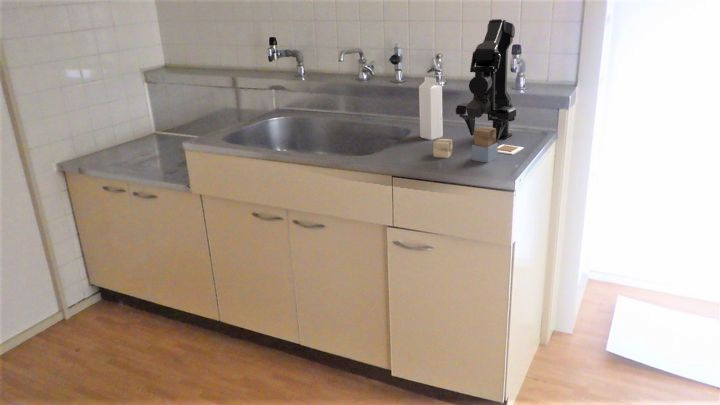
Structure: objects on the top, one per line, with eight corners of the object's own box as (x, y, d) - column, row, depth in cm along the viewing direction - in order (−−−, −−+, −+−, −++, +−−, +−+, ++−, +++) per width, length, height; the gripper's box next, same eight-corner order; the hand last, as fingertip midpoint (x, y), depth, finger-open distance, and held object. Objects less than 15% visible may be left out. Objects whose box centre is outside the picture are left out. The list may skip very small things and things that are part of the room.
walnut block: (482, 141, 197) (482, 126, 195) (495, 143, 194) (496, 128, 192) (474, 145, 193) (474, 130, 191) (488, 147, 190) (488, 132, 188)
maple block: (438, 152, 205) (438, 138, 203) (452, 153, 203) (452, 139, 201) (433, 157, 201) (433, 142, 199) (447, 158, 199) (447, 143, 197)
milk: (431, 140, 220) (429, 79, 211) (419, 137, 224) (418, 78, 216) (443, 136, 223) (442, 77, 215) (431, 133, 227) (430, 75, 219)
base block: (481, 155, 199) (481, 140, 197) (497, 158, 195) (497, 143, 194) (471, 160, 195) (471, 145, 193) (488, 163, 191) (488, 148, 189)
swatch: (502, 145, 208) (502, 143, 207) (523, 148, 203) (524, 146, 202) (491, 151, 202) (491, 149, 202) (512, 154, 197) (513, 152, 197)
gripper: (445, 91, 187) (446, 139, 193) (500, 96, 175) (499, 147, 181) (464, 84, 195) (464, 131, 200) (517, 89, 183) (516, 138, 189)
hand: (484, 137), depth 193 cm, fingers open, 9 cm apart
